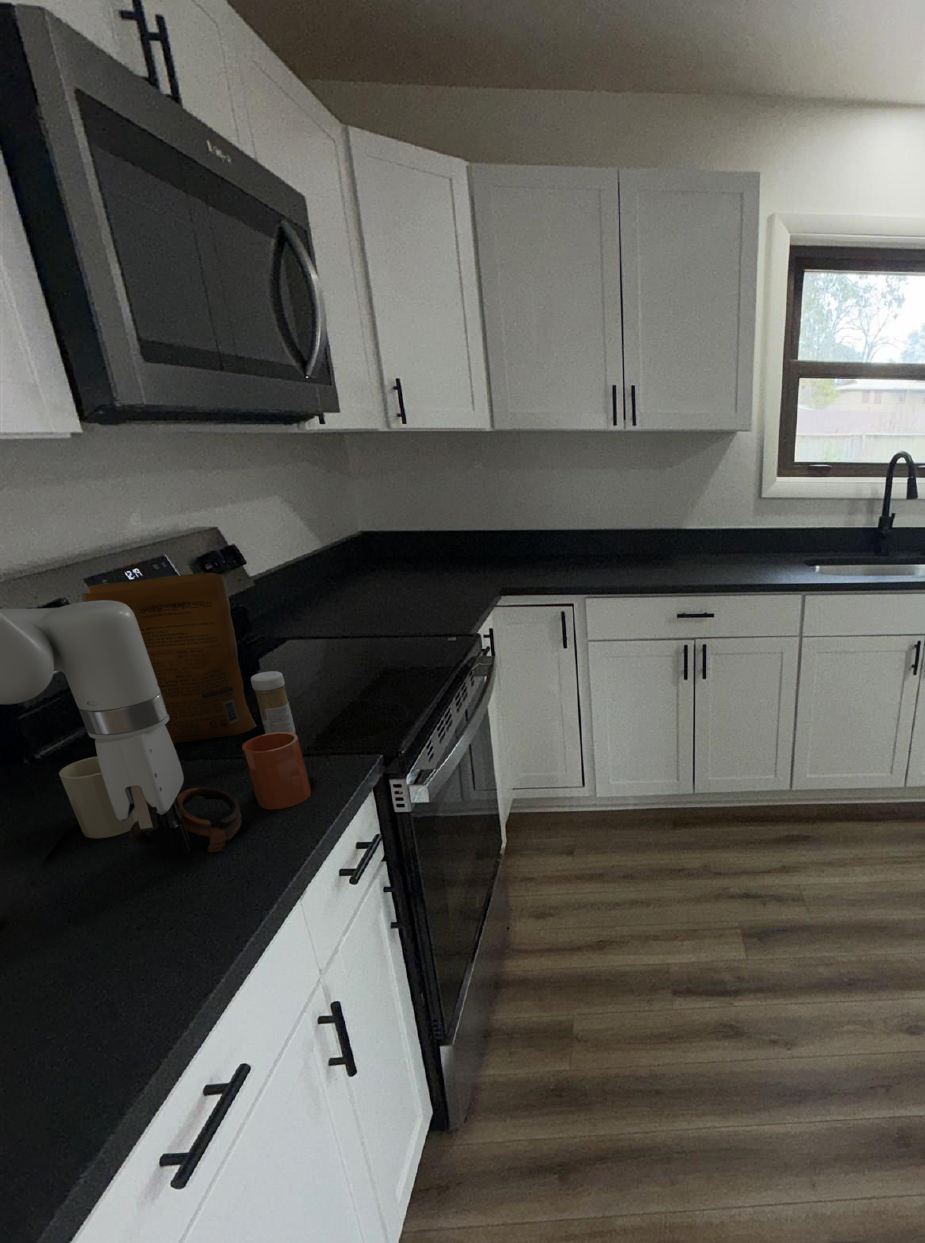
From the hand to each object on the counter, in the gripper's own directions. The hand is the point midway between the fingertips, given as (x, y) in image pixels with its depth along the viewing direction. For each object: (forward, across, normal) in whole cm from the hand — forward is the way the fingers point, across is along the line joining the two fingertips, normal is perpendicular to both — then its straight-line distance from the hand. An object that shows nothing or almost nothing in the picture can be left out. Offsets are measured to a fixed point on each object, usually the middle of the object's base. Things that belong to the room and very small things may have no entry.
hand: (176, 852), depth 89 cm
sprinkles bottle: (+3, -34, +8) cm, 35 cm away
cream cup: (+2, -16, -11) cm, 20 cm away
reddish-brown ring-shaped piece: (+3, -6, 0) cm, 7 cm away
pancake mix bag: (+3, -46, -6) cm, 46 cm away
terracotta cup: (+3, -16, +10) cm, 19 cm away
